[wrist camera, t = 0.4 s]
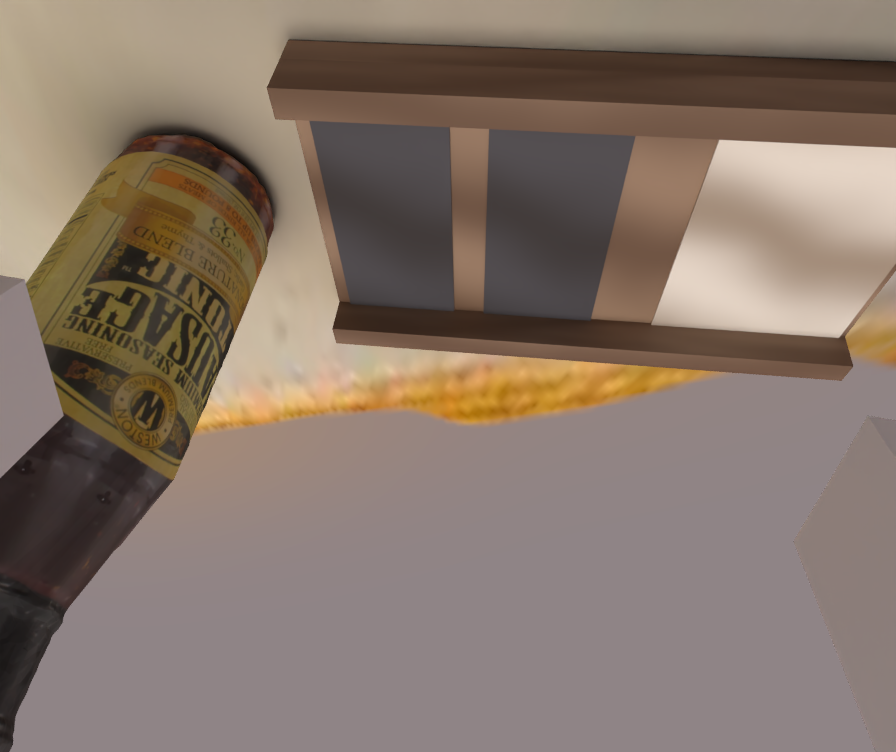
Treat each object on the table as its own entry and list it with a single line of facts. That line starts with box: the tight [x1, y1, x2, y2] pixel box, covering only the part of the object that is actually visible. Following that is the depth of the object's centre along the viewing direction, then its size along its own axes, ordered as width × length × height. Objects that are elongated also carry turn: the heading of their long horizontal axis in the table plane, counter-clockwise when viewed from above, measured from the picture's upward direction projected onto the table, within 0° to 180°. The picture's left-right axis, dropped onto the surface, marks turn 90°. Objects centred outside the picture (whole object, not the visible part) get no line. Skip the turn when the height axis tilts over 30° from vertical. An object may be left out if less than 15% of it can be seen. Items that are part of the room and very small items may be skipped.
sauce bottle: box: [0, 134, 274, 752], centre depth 20 cm, size 6×6×20 cm
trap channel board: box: [267, 40, 896, 381], centre depth 24 cm, size 12×21×2 cm, turn 92°
